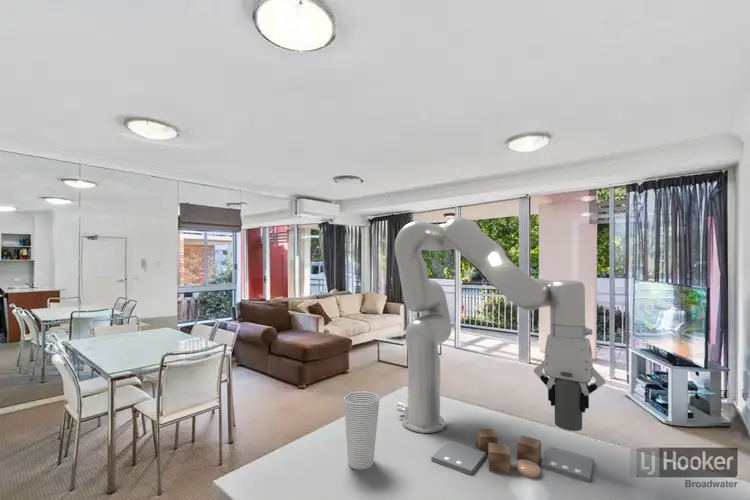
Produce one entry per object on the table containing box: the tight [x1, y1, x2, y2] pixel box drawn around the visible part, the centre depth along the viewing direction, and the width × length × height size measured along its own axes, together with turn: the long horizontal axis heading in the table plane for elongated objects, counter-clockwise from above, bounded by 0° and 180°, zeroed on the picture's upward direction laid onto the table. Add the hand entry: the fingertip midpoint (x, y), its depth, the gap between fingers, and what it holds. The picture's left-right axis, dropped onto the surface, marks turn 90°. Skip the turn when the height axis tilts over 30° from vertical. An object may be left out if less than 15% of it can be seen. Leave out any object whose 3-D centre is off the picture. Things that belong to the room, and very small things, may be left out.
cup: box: [343, 390, 380, 471], centre depth 87 cm, size 8×8×16 cm
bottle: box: [554, 372, 583, 432], centre depth 88 cm, size 6×6×15 cm
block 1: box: [474, 427, 499, 456], centre depth 94 cm, size 4×4×4 cm
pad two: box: [430, 440, 487, 476], centre depth 90 cm, size 10×10×1 cm
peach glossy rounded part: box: [515, 459, 541, 480], centre depth 84 cm, size 5×5×2 cm
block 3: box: [516, 435, 542, 466], centre depth 90 cm, size 4×4×4 cm
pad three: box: [540, 445, 595, 483], centre depth 88 cm, size 10×10×1 cm
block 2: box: [487, 443, 511, 475], centre depth 86 cm, size 4×4×4 cm
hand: (568, 406), depth 88 cm, fingers closed on bottle, 5 cm apart
